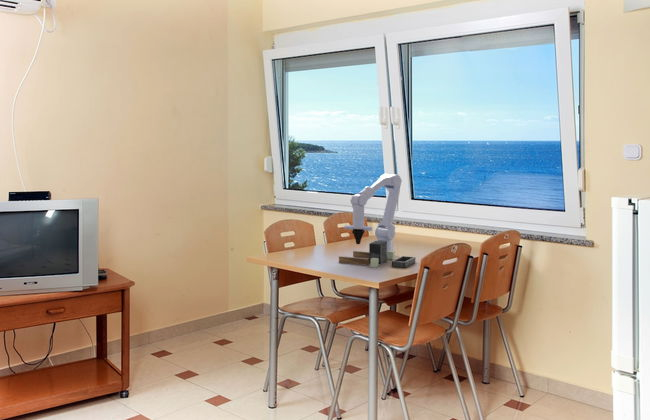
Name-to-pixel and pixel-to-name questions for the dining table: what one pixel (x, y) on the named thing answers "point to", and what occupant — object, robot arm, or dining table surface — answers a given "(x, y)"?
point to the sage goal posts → (376, 260)
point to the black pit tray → (403, 262)
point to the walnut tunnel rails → (354, 259)
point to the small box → (378, 251)
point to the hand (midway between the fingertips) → (358, 243)
